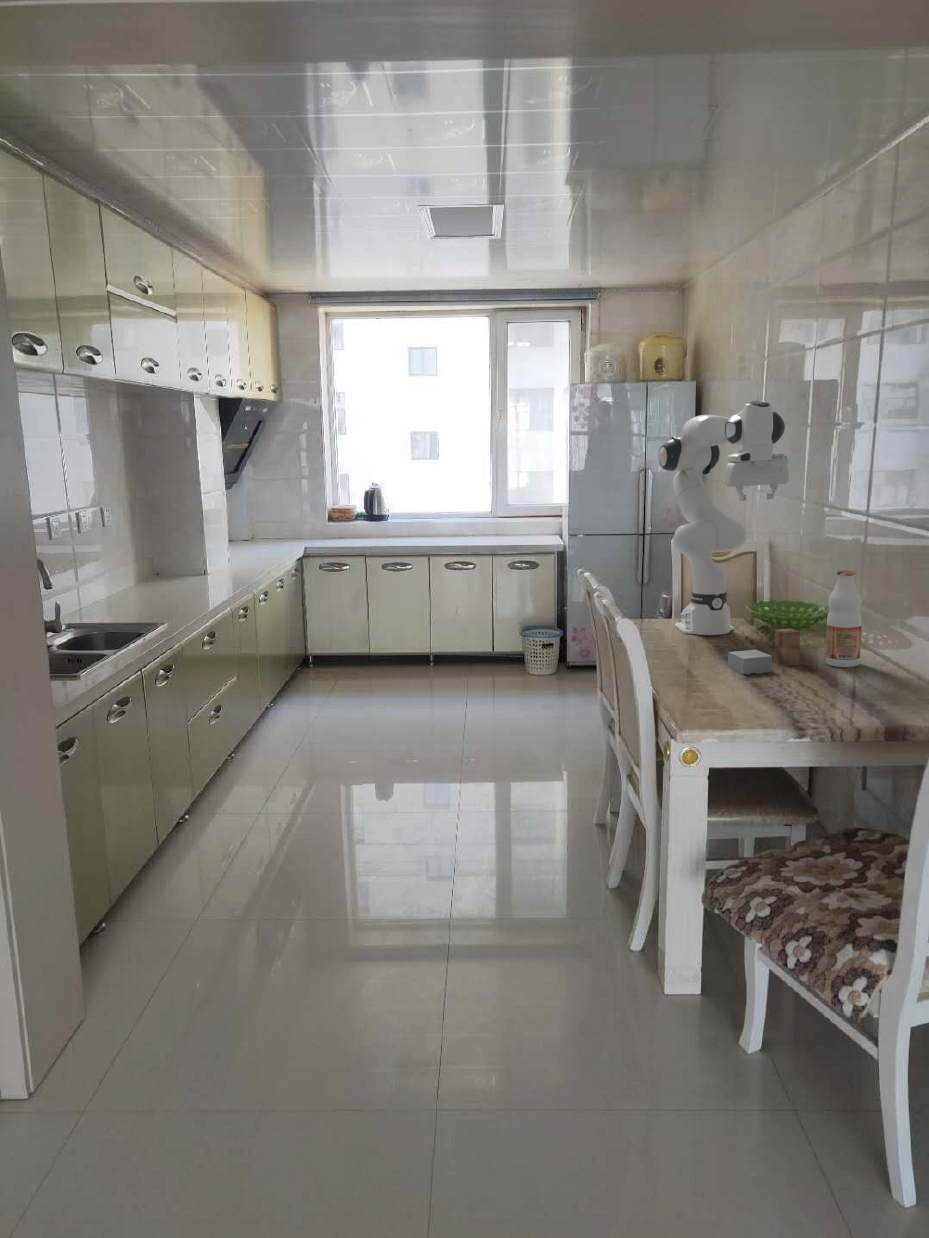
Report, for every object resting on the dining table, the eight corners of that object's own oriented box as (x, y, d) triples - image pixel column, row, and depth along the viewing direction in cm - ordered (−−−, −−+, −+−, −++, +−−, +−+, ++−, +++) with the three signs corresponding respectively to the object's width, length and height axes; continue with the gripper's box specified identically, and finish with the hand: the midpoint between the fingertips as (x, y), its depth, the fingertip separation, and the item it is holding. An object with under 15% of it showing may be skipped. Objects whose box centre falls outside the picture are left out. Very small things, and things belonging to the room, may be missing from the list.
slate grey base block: (728, 668, 270) (728, 652, 269) (755, 665, 272) (755, 649, 271) (743, 675, 261) (743, 658, 260) (771, 672, 263) (771, 656, 262)
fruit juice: (818, 663, 270) (821, 570, 265) (841, 658, 274) (844, 567, 269) (843, 669, 262) (847, 574, 257) (866, 665, 266) (871, 571, 261)
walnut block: (774, 662, 274) (775, 629, 272) (789, 660, 275) (790, 628, 273) (783, 665, 269) (784, 633, 267) (798, 664, 270) (799, 631, 268)
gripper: (782, 453, 284) (781, 497, 287) (722, 456, 280) (722, 501, 283) (793, 453, 278) (792, 498, 281) (732, 456, 274) (732, 502, 277)
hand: (756, 500), depth 282 cm, fingers open, 8 cm apart
